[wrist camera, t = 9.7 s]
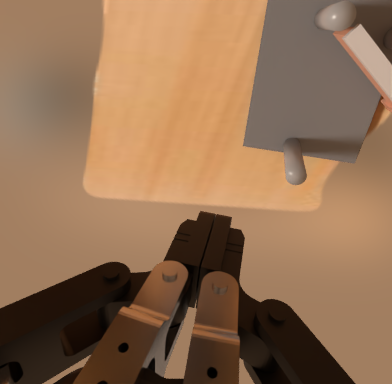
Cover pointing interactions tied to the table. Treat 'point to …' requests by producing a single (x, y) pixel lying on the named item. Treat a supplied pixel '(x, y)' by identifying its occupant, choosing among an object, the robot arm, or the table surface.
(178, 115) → the table surface
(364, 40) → the gate
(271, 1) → the gate frame
